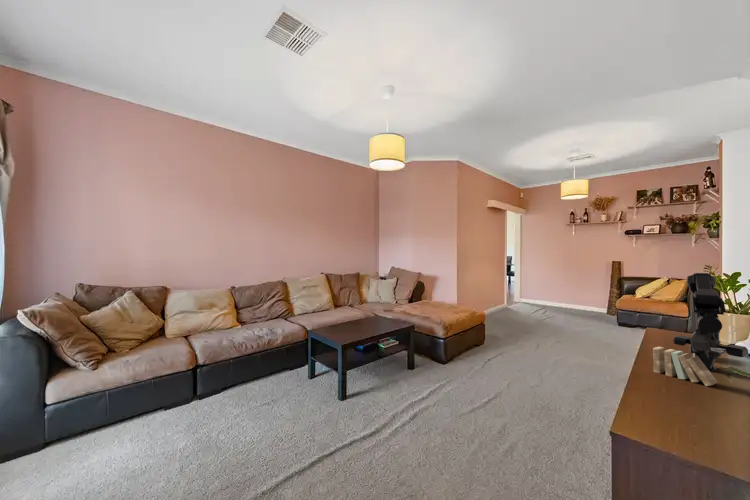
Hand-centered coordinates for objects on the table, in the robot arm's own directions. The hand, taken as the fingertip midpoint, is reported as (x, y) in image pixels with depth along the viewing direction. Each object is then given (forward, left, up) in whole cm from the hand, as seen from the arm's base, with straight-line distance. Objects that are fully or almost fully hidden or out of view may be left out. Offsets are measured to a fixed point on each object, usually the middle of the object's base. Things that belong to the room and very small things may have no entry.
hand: (709, 368), depth 118 cm
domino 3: (0, -7, -6) cm, 10 cm away
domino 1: (0, -15, -6) cm, 17 cm away
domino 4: (0, -3, -6) cm, 7 cm away
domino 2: (0, -11, -6) cm, 13 cm away
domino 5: (0, +1, -6) cm, 6 cm away
